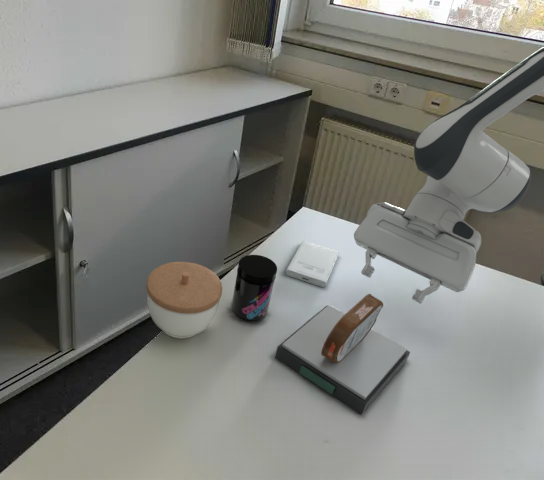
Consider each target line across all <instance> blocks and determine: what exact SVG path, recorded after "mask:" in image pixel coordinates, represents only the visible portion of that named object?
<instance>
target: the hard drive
mask: <svg viewBox="0 0 544 480" xmlns="http://www.w3.org/2000/svg"><path fill="white" fill-rule="evenodd" d="M339 254H340V252H339V250H335V249H332V248H329V247H326V246H323V245H319V244H315V243H312V242H310V241H308V240H307V241H306V240H302V241H301V242H300V244H299V247H298V248H297V250H296V251H295V253H294V255H293V257H292V259H291V260H290V263H289V264H288V266H287V267H286V269H285V270H286V271H285V276H288V277H290V278H293V279H296V280H299V281H303V282H305V283H308V284H311V285H315V286H317V287H321V288H326V285H327V284H328V281H329V279H330V276H331V273H332V272H333V269H334V266H335V264H336V262H337V259H338V257H339Z"/></svg>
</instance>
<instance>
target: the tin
mask: <svg viewBox="0 0 544 480" xmlns="http://www.w3.org/2000/svg"><path fill="white" fill-rule="evenodd" d="M383 307H384V303H383V301H381V300H380V299H379V298H377V297H376V296H374V295H372V294H371V293H367V294H366V295H365V296H364V297H363V298H362V299H360V300H359V301H358V302H357V303H356V304H355V305H353V306H352V308H350V309H349V310H348V311H347V312H346V313H344V314H345V315H344V316H343V317H342V318H341V319H340V320H339V321H338V322H337V324H336V325H335V326H334V328H333V329H332V331H331V332H330V334H329V335H328V337H327V339H326V341H325V343H324V345H323V348H322V351H321V355H322V356H325V357H326V358H327V359H329V360H330V361H332V362H334V363H339V362H340V361H341V360H343V359H344V358H345V357H346V356H347V355H348V354H349V353H350V352H351V351H352V350H353V349H354V348H355V347H356V346H357V345H358V344H359V343H360V342H361V341H362V340H363V339H364V338H365V336H366V335H367V334H368V333H369V331H370V330H371V329H373V326H375V323H376V321H377V318H378V316H379V314H380V312H381V310H382V309H383Z"/></svg>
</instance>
